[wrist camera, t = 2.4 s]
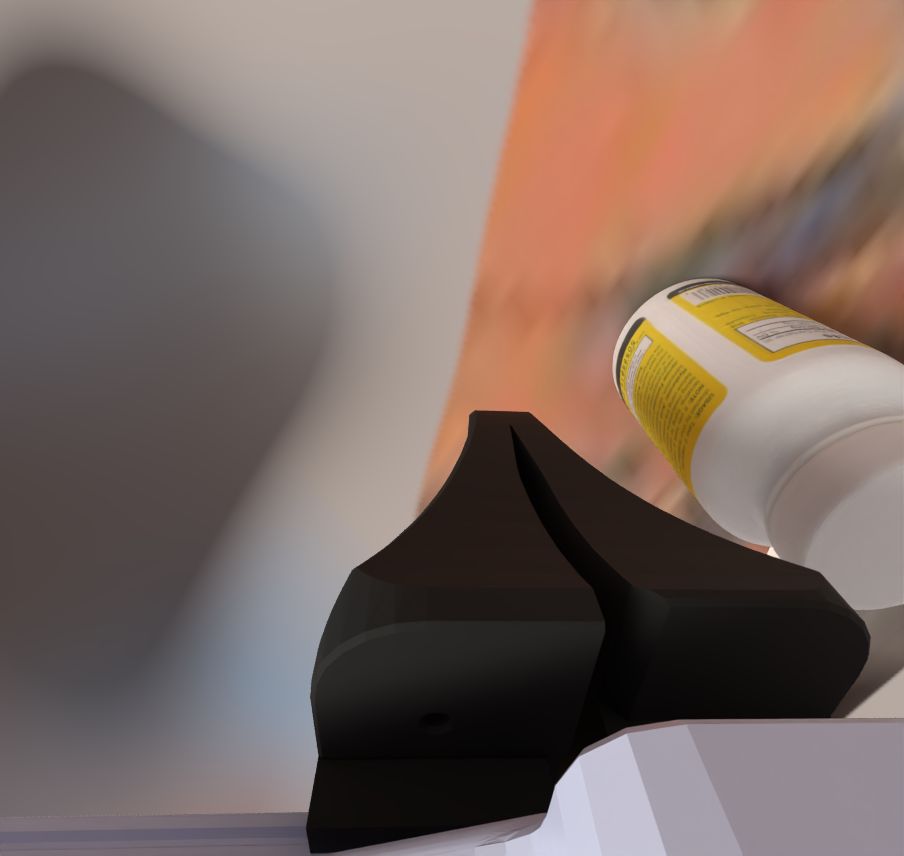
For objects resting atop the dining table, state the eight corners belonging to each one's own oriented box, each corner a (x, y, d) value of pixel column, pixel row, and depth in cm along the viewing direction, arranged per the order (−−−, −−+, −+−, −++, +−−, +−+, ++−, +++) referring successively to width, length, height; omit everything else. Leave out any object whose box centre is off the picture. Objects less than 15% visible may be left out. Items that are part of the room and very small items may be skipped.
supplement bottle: (656, 443, 20) (822, 668, 12) (579, 346, 18) (713, 535, 9) (787, 357, 18) (1092, 545, 10) (720, 238, 16) (1035, 350, 8)
